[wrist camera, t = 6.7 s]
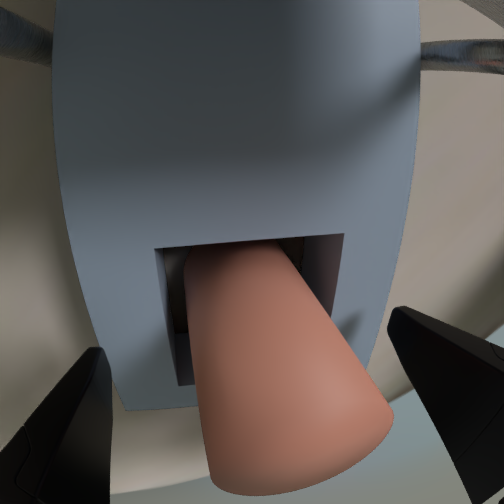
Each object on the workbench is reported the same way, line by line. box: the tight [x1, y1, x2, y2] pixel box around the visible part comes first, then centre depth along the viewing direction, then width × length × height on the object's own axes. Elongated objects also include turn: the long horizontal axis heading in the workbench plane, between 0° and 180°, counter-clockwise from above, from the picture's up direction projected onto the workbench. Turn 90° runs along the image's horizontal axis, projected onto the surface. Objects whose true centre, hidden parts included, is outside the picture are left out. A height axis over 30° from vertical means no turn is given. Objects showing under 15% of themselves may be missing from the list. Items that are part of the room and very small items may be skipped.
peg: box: [184, 239, 394, 496], centre depth 9 cm, size 4×4×8 cm
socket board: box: [52, 0, 421, 411], centre depth 9 cm, size 10×18×3 cm, turn 179°
